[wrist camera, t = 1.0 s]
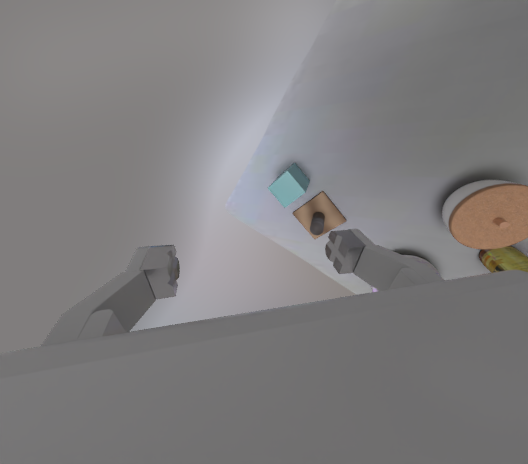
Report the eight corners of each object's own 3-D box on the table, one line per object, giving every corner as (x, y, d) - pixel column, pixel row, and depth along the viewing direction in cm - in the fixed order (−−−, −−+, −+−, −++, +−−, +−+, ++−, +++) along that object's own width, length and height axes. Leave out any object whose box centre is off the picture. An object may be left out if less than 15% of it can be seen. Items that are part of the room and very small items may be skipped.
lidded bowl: (488, 158, 39) (536, 171, 29) (522, 204, 40) (577, 230, 31) (419, 199, 45) (441, 220, 36) (451, 237, 47) (479, 266, 38)
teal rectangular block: (294, 162, 49) (287, 170, 42) (309, 181, 51) (305, 192, 43) (277, 178, 53) (267, 188, 45) (291, 195, 54) (284, 207, 46)
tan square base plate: (323, 190, 51) (321, 201, 44) (346, 219, 53) (347, 234, 46) (292, 212, 56) (287, 224, 50) (314, 238, 58) (312, 253, 51)
